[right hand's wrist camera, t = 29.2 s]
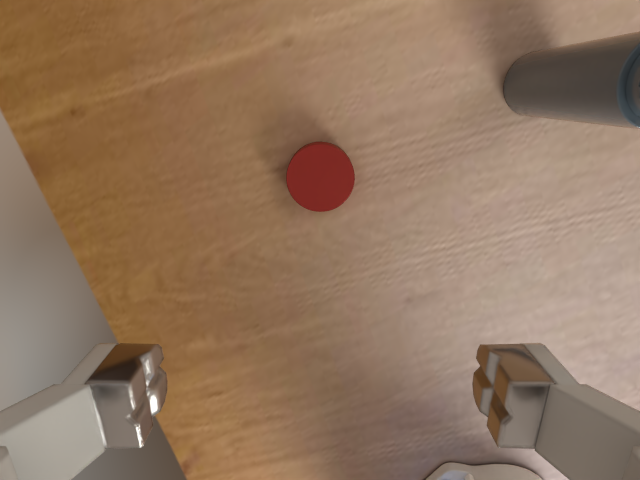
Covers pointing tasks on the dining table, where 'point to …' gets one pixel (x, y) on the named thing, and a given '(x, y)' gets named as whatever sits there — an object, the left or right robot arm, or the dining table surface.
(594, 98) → the jar
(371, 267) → the dining table surface
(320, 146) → the lid
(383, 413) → the dining table surface
